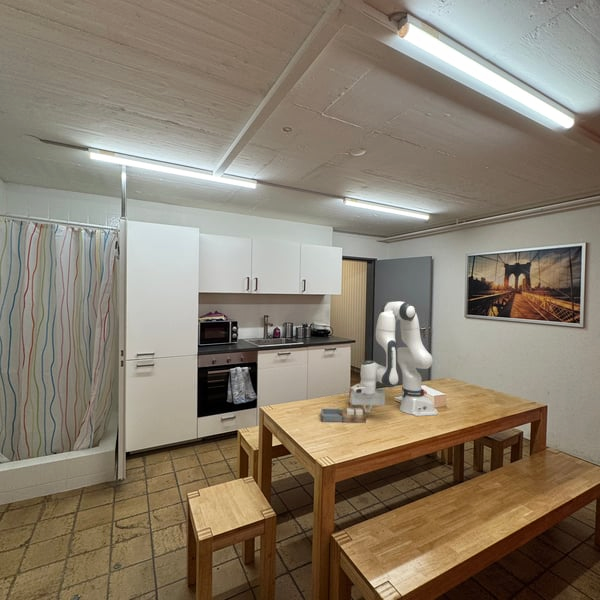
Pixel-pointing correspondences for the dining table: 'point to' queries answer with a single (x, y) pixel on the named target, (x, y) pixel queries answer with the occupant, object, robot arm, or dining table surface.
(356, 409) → the tile
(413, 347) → the robot arm
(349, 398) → the stack of blocks
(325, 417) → the tray
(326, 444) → the dining table surface
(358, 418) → the board
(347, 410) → the tile
